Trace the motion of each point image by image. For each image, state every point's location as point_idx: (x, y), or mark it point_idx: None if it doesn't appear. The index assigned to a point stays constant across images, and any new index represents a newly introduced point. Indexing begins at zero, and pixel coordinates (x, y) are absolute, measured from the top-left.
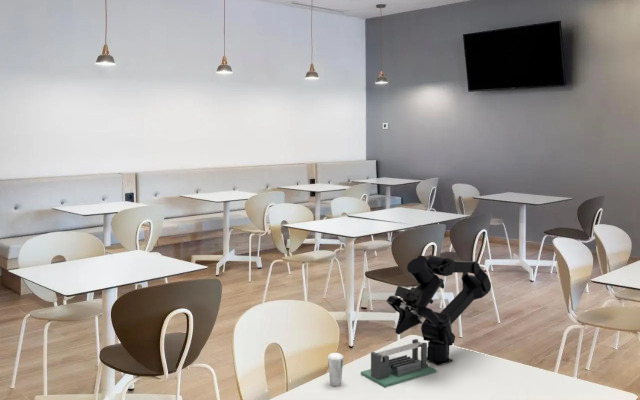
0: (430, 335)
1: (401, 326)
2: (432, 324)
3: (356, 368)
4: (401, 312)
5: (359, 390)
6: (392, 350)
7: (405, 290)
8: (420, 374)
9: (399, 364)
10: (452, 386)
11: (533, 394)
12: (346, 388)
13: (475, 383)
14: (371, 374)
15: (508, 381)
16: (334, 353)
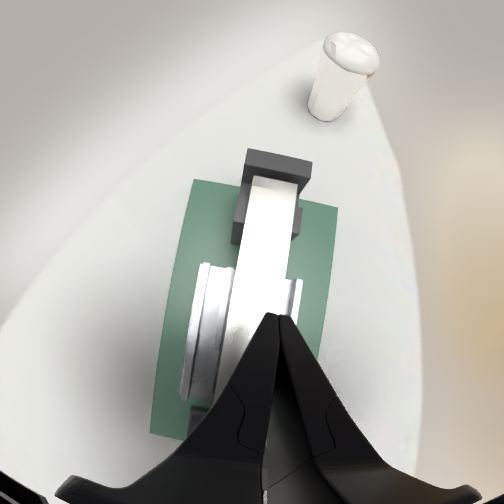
0: None
1: (244, 355)
2: (1, 475)
3: (379, 241)
4: (359, 487)
5: (242, 117)
6: (259, 278)
7: None
8: (159, 355)
9: (223, 302)
10: (47, 354)
11: None
12: (280, 105)
13: (28, 415)
14: None
15: (6, 465)
16: (367, 51)
